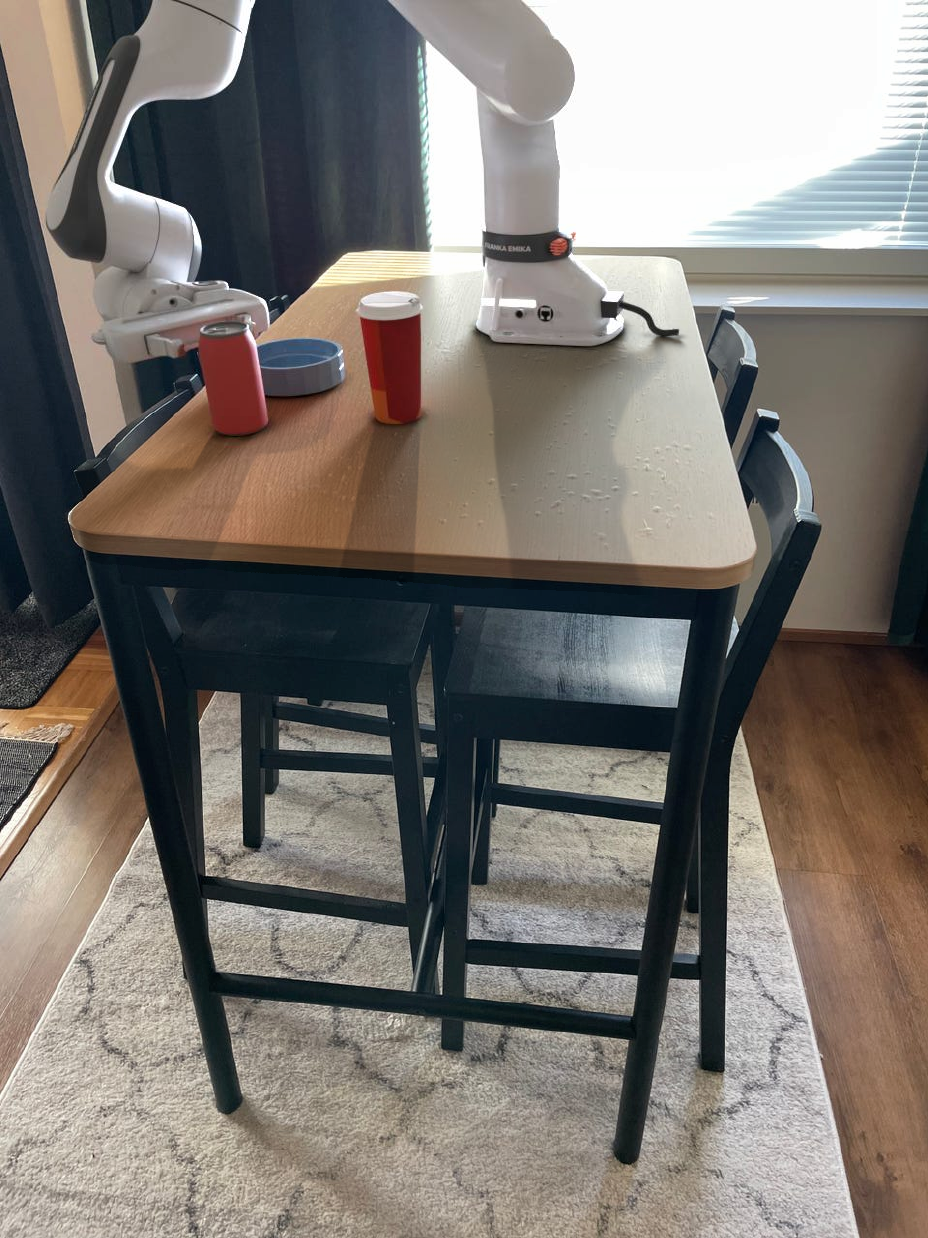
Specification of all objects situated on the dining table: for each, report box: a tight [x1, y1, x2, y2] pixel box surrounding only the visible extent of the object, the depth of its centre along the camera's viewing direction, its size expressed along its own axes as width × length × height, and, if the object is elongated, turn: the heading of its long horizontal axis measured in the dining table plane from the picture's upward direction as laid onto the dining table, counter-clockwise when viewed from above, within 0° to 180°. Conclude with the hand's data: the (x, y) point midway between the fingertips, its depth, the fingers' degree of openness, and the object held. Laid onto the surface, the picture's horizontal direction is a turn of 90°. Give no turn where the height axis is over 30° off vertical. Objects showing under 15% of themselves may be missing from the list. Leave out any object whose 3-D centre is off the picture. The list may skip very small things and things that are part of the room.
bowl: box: [256, 337, 346, 397], centre depth 124 cm, size 13×13×4 cm
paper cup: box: [355, 290, 424, 425], centre depth 109 cm, size 8×8×14 cm
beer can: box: [198, 321, 269, 437], centre depth 108 cm, size 7×7×12 cm
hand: (216, 341), depth 108 cm, fingers open, 8 cm apart
